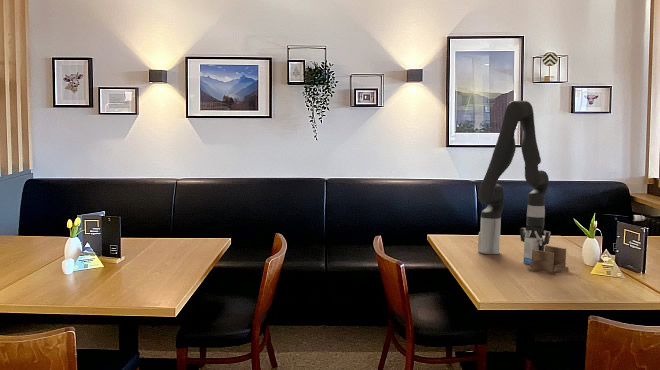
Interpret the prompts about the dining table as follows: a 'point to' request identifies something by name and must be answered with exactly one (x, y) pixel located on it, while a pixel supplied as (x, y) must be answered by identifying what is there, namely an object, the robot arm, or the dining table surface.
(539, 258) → the holder
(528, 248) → the ink box
